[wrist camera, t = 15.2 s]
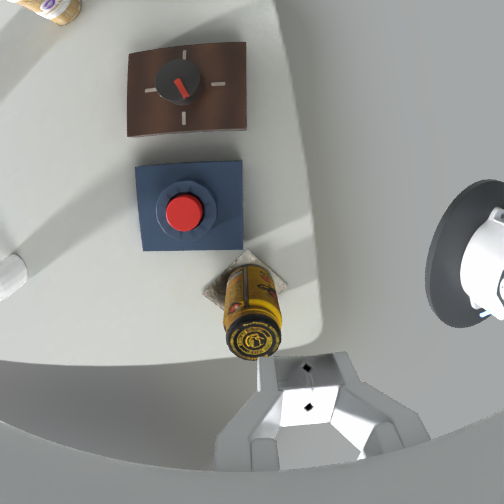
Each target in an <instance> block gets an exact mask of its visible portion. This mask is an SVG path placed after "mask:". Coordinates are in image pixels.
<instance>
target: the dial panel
mask: <svg viewBox="0 0 504 504" xmlns="http://www.w3.org/2000/svg"><path fill="white" fill-rule="evenodd" d="M175 59H185V60H188V61H191V62H192V63H194V64H195V65H196V66H197V68H198V70H199V71H200V73H201V74H202V76H203V78H204V82H205V87H204V91H203V93H202V95H201V96H200V98H199V99H198V100H197V101H195V102H194V103H192V104H189V105H185V106H179V105H175V104H173V103H171V102H169V101H168V100H166V99H164V98H163V97H161V96H160V95H159V94H158V92H157V90H156V87H155V78H156V75H157V73H158V71H159V70H160V68H161V67H162V66H163V65H164V64H166V63H167V62H169V61H172V60H175ZM246 129H247V116H246V42H227V43H207V44H195V45H184V46H175V47H168V48H160V49H154V50H148V51H142V52H136V53H131V54H129V61H128V83H127V137H144V136H153V135H163V134H175V133H188V132H205V131H232V130H246Z"/></svg>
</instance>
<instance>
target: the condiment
mask: <svg viewBox="0 0 504 504" xmlns="http://www.w3.org/2000/svg"><path fill="white" fill-rule="evenodd" d="M287 286H288V285H287V284H286V283H285V282H284V281H283V280H282V279H281V278H279V277H278V276H277V275H276V274H275V273H274V272H273V271H272V270H271V269H270V268H268V267H267V266H266V265H265V264H264V263H263V262H262V261H261V260H259V259H258V258H257V257H256V256H255V255H254V254H253V253H252V252H250V251H249V250H248V249H247V250H246V251H245V252H244V253H243V254H241V255H240V256H239V257H238V258H237V259H236V260H235V261H234V262H233V263H232V264H231V265H230V266H229V267H228V268H227V269H226V270H225V271H224V272H223V273H222V274H221V276H220V277H219V278H217V279H216V280H215V281H214V282H213V283H212V284H211V285H210V286H209V287H208V289H207V290H205V291H204V292H203V293H202V294H203V295H204V296H205V297H207V298H208V299H210V300H211V301H212V302H214V303H215V304H216V305H217V306H219V307H220V308H221V309H222V310H224V319H223V325H224V329H225V332H226V343H227V345H228V347H229V349H230V351H231V352H232V353H233V354H235V355H236V356H237V357H239V358H242V359H244V360H252V361H255V360H258V357H269V356H271V355H272V354H273V353H274V352H276V350H278V347H279V345H280V343H281V331H280V330H281V325H282V317H281V312H280V308H279V303H278V299H277V295H278V294H279V293H280V292H281V291H282V290H284V289H285V288H286V287H287Z"/></svg>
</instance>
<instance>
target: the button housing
mask: <svg viewBox="0 0 504 504" xmlns="http://www.w3.org/2000/svg"><path fill="white" fill-rule="evenodd" d="M135 173H136V188H137V201H138V212H139V222H140V231H141V240H142V248H143V251H186V250H243V190H242V160H235V161H203V162H184V163H168V164H155V165H143V166H138V167H135ZM182 194H189V195H192V196H194V197H196V198H197V199H198V200H199V201H200V203H201V205H202V209H203V213H202V217H201V219H200V221H199V223H198V224H197V226H196V227H194V228H193V229H191V230H189V231H179V230H176V229H175V228H173V227H172V226H171V225H170V224H169V222H168V220H167V217H166V210H167V207H168V205H169V203H170V202H171V201H172V200H173V199H175V198H176V197H177V196H179V195H182Z"/></svg>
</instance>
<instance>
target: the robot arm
mask: <svg viewBox="0 0 504 504" xmlns="http://www.w3.org/2000/svg"><path fill="white" fill-rule="evenodd" d="M460 277H461V284H462V287H463V289H464V291H465V292H466V293H467V294H468V296H469V297H470V301H471V305H472V307H473V308H475V309H479V308H484V309H485V310H487V311H486V312H483V313H481V314H480V316H481V317H484V316H486V315H488V314H492V315H494V316H496V317H497V318H498V319H500V320H503V319H504V209H502V208H500V207H495V208H494V209H493V211H492V212H491V214H490V216H489V218H488V220H487V221H486V222H485V223H484V224H483V225H481V226H480V227H479V228H478V229H477V231H476V232H475V233H474V234H473V236H472V237H471V239H470V241H469V243H468V245H467V247H466V250H465V252H464V255H463V259H462V263H461V271H460ZM257 373H258V374H257V375H258V376H257V378H258V379H257V386H258V387H257V388H258V389H257V392H255V393H254V394H253V396H251V398H250V399H249V400H248V401H247V402H246V404H245V405H244V406H243V407H242V408H241V409H240V411H239V412H238V413H237V414H236V415H235V416H234V417H233V419H232V420H231V421H230V422H229V423H228V424H227V425H226V427H225V428H224V429H223V430H222V431H221V432H220V433H219V434H218V435H217V436H216V441H215V442H216V443H215V455H214V468H213V471H199V470H186V469H175V468H166V467H158V466H152V465H145V464H139V463H132V462H128V461H122V460H117V459H113V458H109V457H104V456H100V455H96V454H92V453H88V452H84V451H81V450H77V449H74V448H71V447H67V446H64V445H61V444H58V443H55V442H52V441H49V440H46V439H43V438H41V437H38V436H35V435H33V434H30V433H28V432H25V431H22V430H20V429H18V428H16V427H13V426H11V425H8V424H6V423H4V422H2V421H0V504H504V408H503V409H501V410H499V411H498V412H496V413H494V414H492V415H490V416H487V417H486V418H483V419H481V420H479V421H477V422H475V423H472V424H470V425H468V426H466V427H463V428H461V429H458V430H456V431H454V432H451V433H448V434H445V435H443V436H440V437H438V438H435V439H432V440H431V438H430V436H429V434H428V432H427V430H426V428H425V426H424V425H423V423H422V421H421V419H420V417H419V415H418V413H416V412H414V411H412V410H411V409H409V408H407V407H406V406H404V405H402V404H401V403H399V402H397V401H395V400H394V399H392V398H390V397H389V396H387V395H385V394H384V393H382V392H380V391H379V390H377V389H376V388H374V387H372V386H371V385H369V384H367V383H366V382H362V383H361V381H360V379H359V377H358V375H357V373H356V370H355V368H354V366H353V364H352V362H351V360H350V357H349V355H348V354H347V352H336V353H331V354H330V353H329V354H318V355H306V356H277V357H258V372H257ZM324 422H330V423H331V424H332V425H333V426H334V427H335V428H336V429H338V431H339V432H341V433H342V434H343V435H344V436H345V437H346V438H347V439H348V440H349V441H350V442H352V444H353V445H355V446H356V447H357V448H358V449H359V450H360V451H361V453H360V455H359V457H358V459H357V460H354V461H350V462H344V463H338V464H332V465H326V466H319V467H310V468H301V469H292V470H291V469H290V470H280V465H279V457H278V449H277V441H276V440H274V437H275V436H276V434H277V432H278V431H279V429H280V427H283V426H293V425H302V424H312V423H324Z"/></svg>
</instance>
